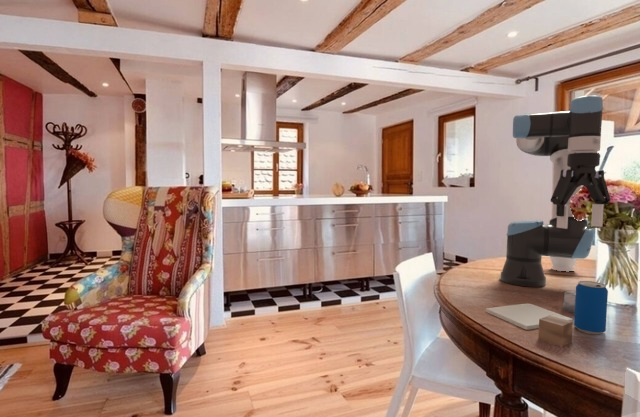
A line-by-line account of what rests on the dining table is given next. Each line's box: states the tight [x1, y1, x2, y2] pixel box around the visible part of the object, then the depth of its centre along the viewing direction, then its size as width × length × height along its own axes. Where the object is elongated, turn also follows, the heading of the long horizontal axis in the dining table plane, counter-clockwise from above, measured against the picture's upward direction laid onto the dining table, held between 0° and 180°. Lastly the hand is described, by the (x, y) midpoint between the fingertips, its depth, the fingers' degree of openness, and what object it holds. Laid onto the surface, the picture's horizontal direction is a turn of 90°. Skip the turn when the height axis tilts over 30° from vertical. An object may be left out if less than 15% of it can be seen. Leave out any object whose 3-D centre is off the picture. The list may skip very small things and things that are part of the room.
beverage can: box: [573, 280, 609, 335], centre depth 93 cm, size 6×6×12 cm
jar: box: [549, 256, 578, 273], centre depth 160 cm, size 11×10×15 cm
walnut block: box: [537, 315, 574, 348], centre depth 87 cm, size 5×5×5 cm
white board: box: [485, 302, 574, 331], centre depth 103 cm, size 16×14×1 cm
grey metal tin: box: [562, 290, 576, 315], centre depth 108 cm, size 6×6×5 cm
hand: (579, 227), depth 107 cm, fingers open, 13 cm apart
